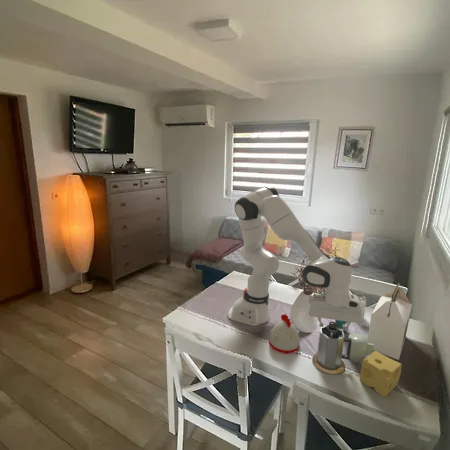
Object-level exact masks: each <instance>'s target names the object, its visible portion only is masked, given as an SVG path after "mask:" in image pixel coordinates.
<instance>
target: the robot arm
mask: <svg viewBox="0 0 450 450" xmlns="http://www.w3.org/2000/svg"><path fill="white" fill-rule="evenodd" d="M234 212H235V214H236V216H237V217H238V221H239V228H240V232H241V235H242V240H243V247H242V248H241V252H240V253H241V257H242V260H244V262H245V263H246V264H248V265H249V266H250V267H252V268H253V271H252V273H251V275H249V276H248V278H247V287H245V288H244V289H243V295H242V297H239V298H238V299H235V302H234V303H233V305H232V306H231V307H230V309H229V310H228V314H227V317H228V320H232V321H235V322H238V323H242V324H245V325H249V326H252V327H256V326H258V325H261V324H265V323H268V322H269V320H270V319H271V316H270V312H269V303H270V302H269V301H270V293H269V286H270V279H271V277H272V275H274V274H275V273H276V272H278V269H279V268H280V261H279V259H278V258H277V256H276V255H275V254H274V253H272V252H271V251H268V249H266V248H264V246H263V241H264V240H265V238H266V232H265V229H264V223H263V218H264V219H265V220H266V221H267V223H268V225H269V227H270V228H271V230H272V231H273V233H274V234H275V235H276V236H277V237H278V238H279V239H281V240H283V241H291V242H294V243H296V244H297V245H298V246H299V247H300V249H301V250H302V251H303V252H304V254H305V255H306V257H308V259H309V263H307V264H306V266H304V267H303V270H302V274H301V275H302V278H303V280H304V282H305V283H306V284H307V285H308V286H311V287H313V288H320V289H321V288H323V289H325V291H324V295H322V294H312V295H310V296H308V303H309V305H308V310H307V311H308V315H309V316H310V317H314V318H317V321H318V322H319V323H318V326H319V328H320V327H323V326H324V321H323V320H322V319H326V320H327V319H329V320H333V321H335V320H339V321H346V324H345V325H344V324H343V325H342V326H343V327H342V330H345V331H348V330H347V327H348V328H349V327H350V325H351V323H354V324H360V323H362V321H363V320H362V310H361V307H360V306H361V303H360V300H359V298H358V296H356V295H357V294H354V293H350V285H351V283H352V265H351V263H350V261H348V260H347V259H345V258H344V257H340V256H332V257H330V256H329V255H328V254H326V253H325V251H323V250H322V249H321V248H320V247H319V245H318V244H317V243H316V241H315V240H314V238H313V237H312V236H311V235H310V233H309V232H308V231H307V230H306V229H305V227H304V226H303V225H302V224H301V222H300V221H299V220H298V218H297V217H296V215H295V214H294V212H293V210H292V209H291V207H290V206H289V205H288V204H287V203H286V201H285V200H284V199H283V198H282V197H280V194H279V192H278V190H277V189H276V188H275V187H273V186H272V185H265V186H262V187H261V188H257V189H254V190H252V191H251V192H249V193H247V194H246V195H244V196H242V197H240V198H238V199H237V200H236V202H235V203H234ZM262 217H263V218H262ZM345 331H344V332H345Z"/></svg>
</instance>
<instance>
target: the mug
mask: <svg viewBox="0 0 450 450" xmlns="http://www.w3.org/2000/svg"><path fill="white" fill-rule="evenodd" d="M348 338H351V340H352V343H351V350H350V357H349V360H351V361H353V362H356V363H362V362H363V360H364V359H365V358H366V356H367V355H368V356H369V355H371V354H372V353H373V352H374V350H373V347H374V345H373V344H371V343H368V340H367V339H368V337H366V336H365V335H364V334H361V333H356V332H352V333H349V335H348ZM347 346H348V344H347V345H346V347H347ZM346 353H347V351H346ZM346 353H345V354H346Z"/></svg>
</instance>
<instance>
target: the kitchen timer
mask: <svg viewBox="0 0 450 450" xmlns="http://www.w3.org/2000/svg"><path fill="white" fill-rule="evenodd" d="M280 319H281V320H279V321H278V322H277V323H275V324H274V326H273V328H271V329H270V334H269V339H268V344H269V346H270V347H271V349H273V350H274V351H275V352H278V353H281V354H285V355H286V354H288V353H290V354H294V353H296V352H297V351H298V350H299V349H300V345H301V344H300V343H301V342H300V331H299V330H297V328H296V326H295V325H294V324H293V322H291V318H289V316H288V315H287V313H286V314H285V313H284V314H281V315H280Z"/></svg>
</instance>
